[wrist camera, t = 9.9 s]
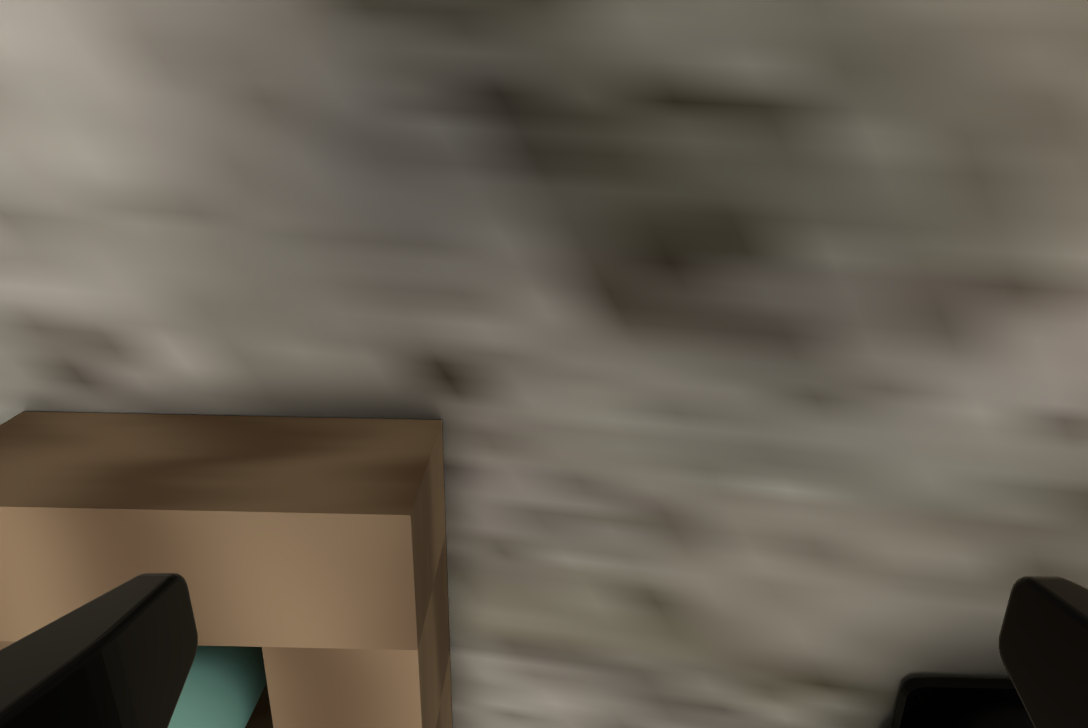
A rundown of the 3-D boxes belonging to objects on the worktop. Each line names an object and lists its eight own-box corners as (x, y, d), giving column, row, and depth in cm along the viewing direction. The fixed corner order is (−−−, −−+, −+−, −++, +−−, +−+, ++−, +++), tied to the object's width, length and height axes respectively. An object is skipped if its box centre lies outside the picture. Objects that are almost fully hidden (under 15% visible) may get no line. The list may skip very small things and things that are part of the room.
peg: (302, 548, 23) (151, 822, 14) (311, 627, 24) (176, 926, 15) (205, 545, 23) (-4, 818, 14) (218, 624, 24) (32, 922, 15)
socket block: (442, 420, 21) (410, 515, 16) (453, 738, 25) (430, 886, 20) (23, 411, 21) (-129, 504, 16) (104, 730, 25) (2, 876, 21)
